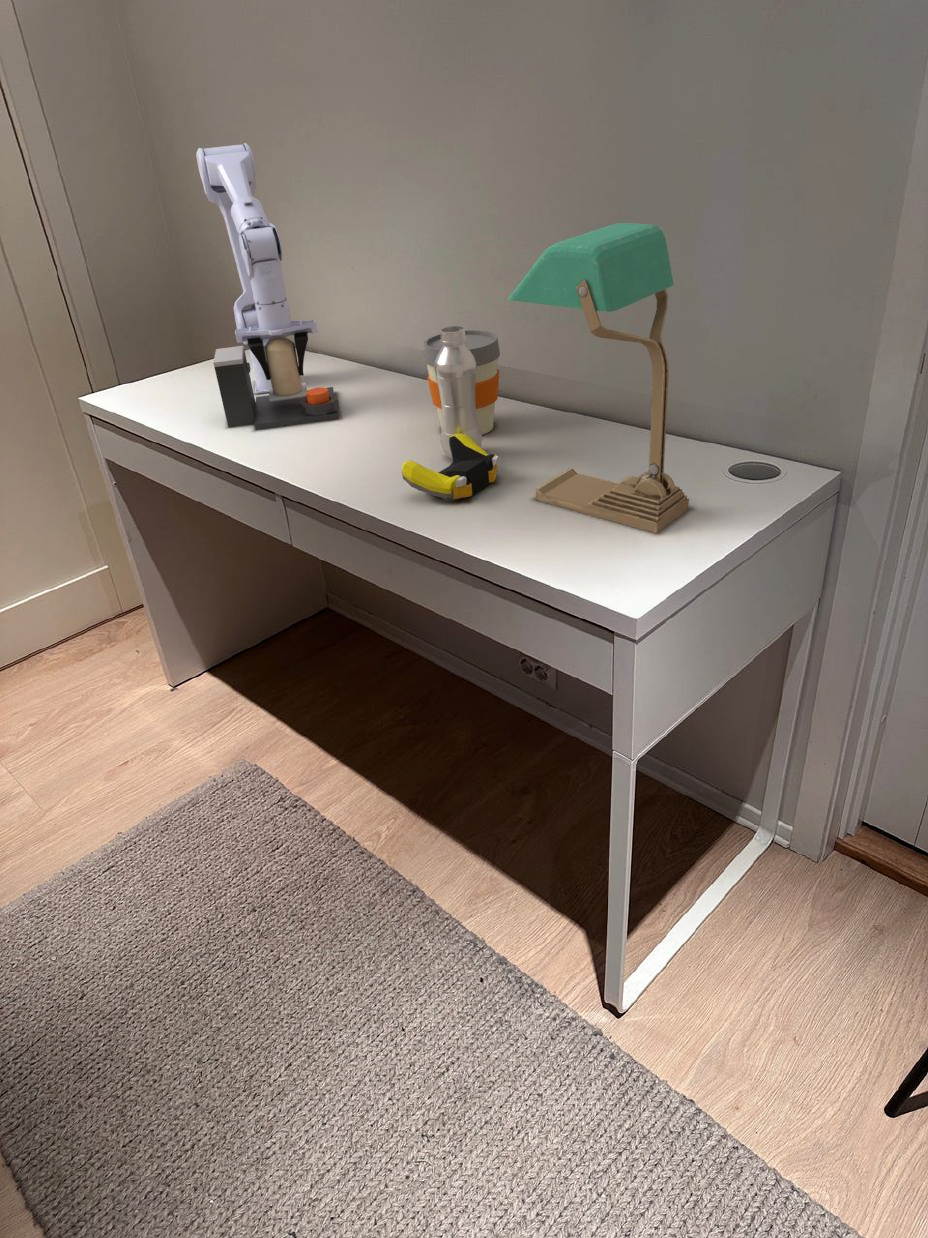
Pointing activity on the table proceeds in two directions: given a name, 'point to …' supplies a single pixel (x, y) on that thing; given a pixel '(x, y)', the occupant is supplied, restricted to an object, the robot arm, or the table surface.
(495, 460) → the gaming controller
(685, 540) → the table surface
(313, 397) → the button
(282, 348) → the candle
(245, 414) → the tower
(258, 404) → the grey base plate
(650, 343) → the banker's lamp
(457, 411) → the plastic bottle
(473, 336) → the reusable coffee cup
